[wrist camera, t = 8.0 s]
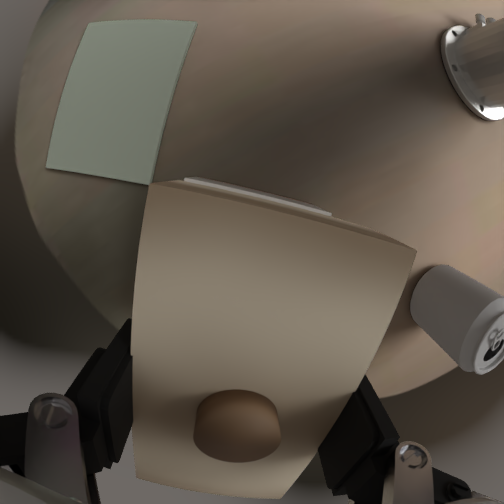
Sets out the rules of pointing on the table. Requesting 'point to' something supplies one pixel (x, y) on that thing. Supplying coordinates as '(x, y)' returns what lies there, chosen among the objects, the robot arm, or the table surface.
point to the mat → (119, 98)
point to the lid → (250, 335)
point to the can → (461, 317)
